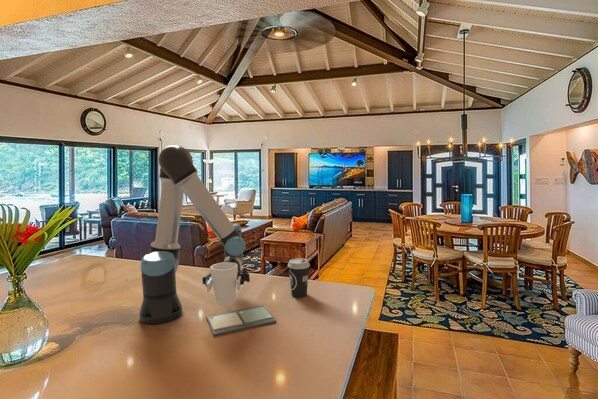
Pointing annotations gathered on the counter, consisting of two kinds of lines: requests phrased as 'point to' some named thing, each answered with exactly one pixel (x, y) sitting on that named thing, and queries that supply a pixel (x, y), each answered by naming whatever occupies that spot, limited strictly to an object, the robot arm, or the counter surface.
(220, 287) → the foam cup
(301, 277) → the coffee cup
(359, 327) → the counter surface
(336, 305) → the counter surface
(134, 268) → the counter surface
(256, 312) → the tile board
